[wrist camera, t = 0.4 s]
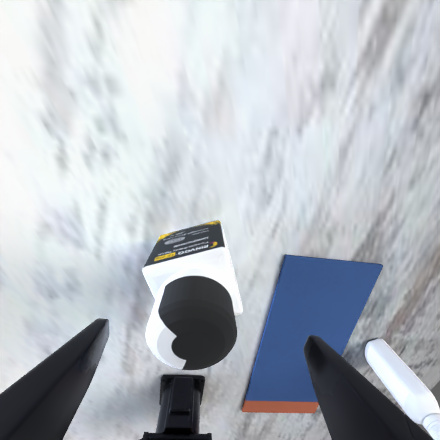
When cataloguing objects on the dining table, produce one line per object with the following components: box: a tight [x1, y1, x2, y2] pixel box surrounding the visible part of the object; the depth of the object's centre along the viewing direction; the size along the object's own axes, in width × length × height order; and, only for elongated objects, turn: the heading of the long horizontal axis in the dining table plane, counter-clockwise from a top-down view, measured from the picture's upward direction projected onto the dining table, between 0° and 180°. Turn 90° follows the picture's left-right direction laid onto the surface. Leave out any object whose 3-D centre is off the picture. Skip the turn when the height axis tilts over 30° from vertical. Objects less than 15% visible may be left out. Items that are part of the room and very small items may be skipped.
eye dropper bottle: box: [365, 338, 440, 440], centre depth 26 cm, size 4×6×12 cm
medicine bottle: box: [142, 220, 243, 370], centre depth 18 cm, size 7×7×12 cm
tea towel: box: [242, 255, 383, 413], centre depth 30 cm, size 30×13×1 cm, turn 172°
